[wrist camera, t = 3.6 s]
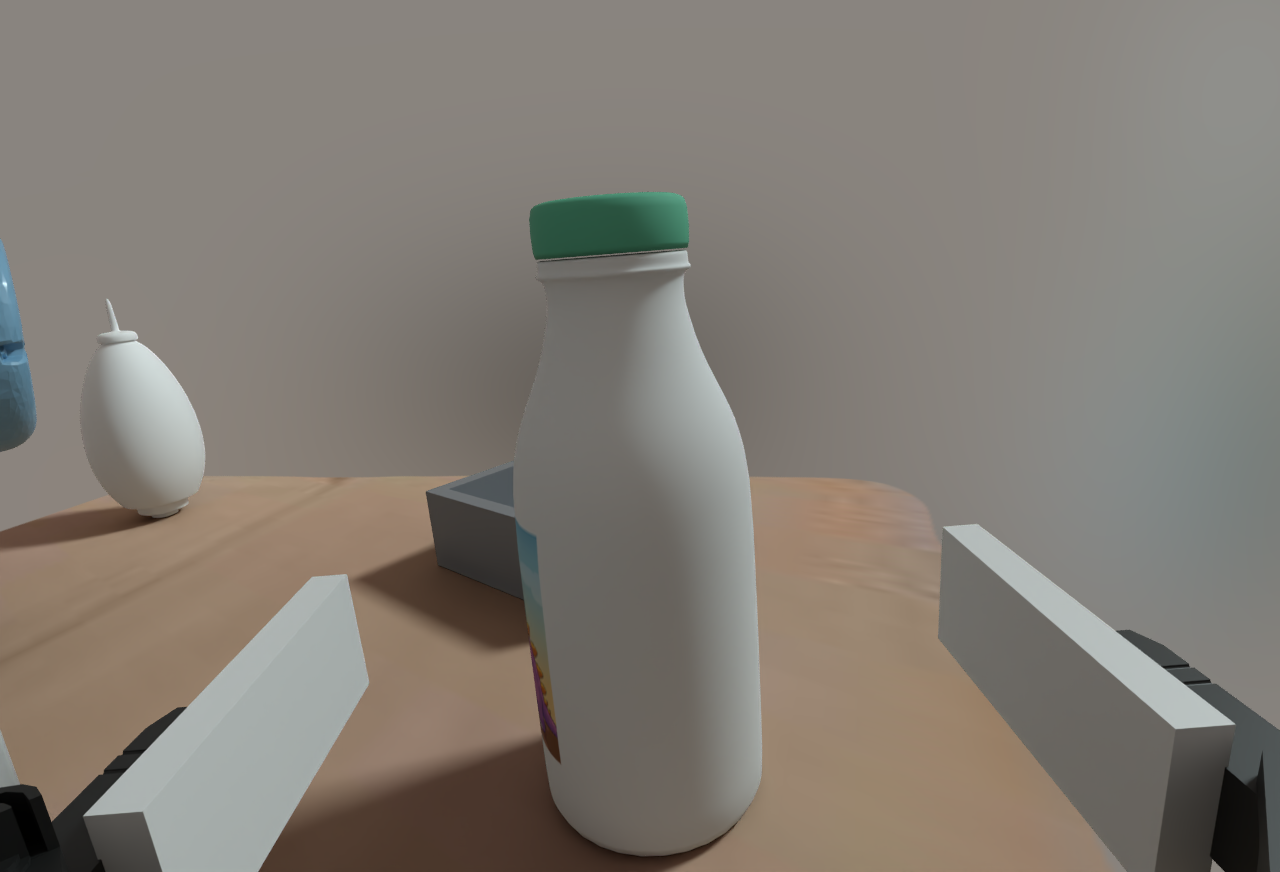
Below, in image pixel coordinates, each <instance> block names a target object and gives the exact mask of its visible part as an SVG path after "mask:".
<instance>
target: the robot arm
mask: <svg viewBox="0 0 1280 872" xmlns="http://www.w3.org/2000/svg"><path fill="white" fill-rule="evenodd" d="M24 345H25V343H24V338H23V333H22V325H21V319H20V314H19V309H18V305H17V299H16V295H15V290H14V286H13V281H12V277H11V273H10V268H9V264H8V260H7V256H6V252H5V249H4V245H3V243H2V241H1V239H0V452H2V451H6V450H9V449H13V448H15V447H17V446H19V445H21V444H23V443H24V442H25V441H26V440H27V439H28V438H29V437H30V436H31V435H32V433H33V432H34V430H35V427H36V420H37V419H36V406H35V398H34V391H33V386H32V379H31V373H30V368H29V363H28V358H27V354H26V352H25V348H24ZM938 638H939V640H940V641H941V642H942V643H943V645H944V646H945V647H946V648H947V650H948V651H949V652H950V653H951V655H952V656H953V657H954V658H955V659H956V661H957V662H958V663H959V664H960V666H961V667H962V668H963V669H964V671H965V672H966V673H967V674H968V676H969V677H970V678H971V679H972V681H973V682H974V683H975V684H976V685H977V687H978V688H979V689H980V690H981V692H982V693H983V694H984V695H985V697H986V698H987V699H988V700H989V702H990V703H991V704H992V705H993V706H994V708H995V709H996V710H997V711H998V713H999V714H1000V715H1001V716H1002V718H1003V719H1004V720H1005V721H1006V723H1007V724H1008V725H1009V726H1010V727H1011V729H1012V730H1013V731H1014V732H1015V734H1016V735H1017V736H1018V737H1019V739H1020V740H1021V741H1022V742H1023V744H1024V745H1025V746H1026V747H1027V749H1028V750H1029V751H1030V752H1031V753H1032V755H1033V756H1034V757H1035V758H1036V760H1037V761H1038V762H1039V763H1040V765H1041V766H1042V767H1043V768H1044V770H1045V771H1046V772H1047V773H1048V774H1049V776H1050V777H1051V778H1052V779H1053V781H1054V782H1055V783H1056V784H1057V786H1058V787H1059V788H1060V789H1061V791H1062V792H1063V793H1064V794H1065V795H1066V797H1067V798H1068V799H1069V800H1070V802H1071V803H1072V804H1073V805H1074V807H1075V808H1076V809H1077V810H1078V812H1079V813H1080V814H1081V815H1082V817H1083V818H1084V819H1085V820H1086V821H1087V823H1088V824H1089V825H1090V826H1091V828H1092V829H1093V830H1094V831H1095V833H1096V834H1097V835H1098V836H1099V838H1100V839H1101V840H1102V841H1103V842H1104V844H1105V845H1106V846H1107V847H1108V849H1109V850H1110V851H1111V852H1112V854H1113V855H1114V856H1115V857H1116V859H1117V860H1118V861H1119V862H1120V863H1121V865H1122V866H1123V867H1124V868H1125V869H1126V871H1127V872H1210V870H1211V864H1212V859H1213V860H1214V861H1215V862H1216V863H1217V864H1218V865H1219V866H1220V867H1221V868H1222V869H1223V870H1224V871H1225V872H1280V730H1278V729H1277V728H1276V727H1274V726H1273V725H1272V724H1270V723H1269V722H1267V721H1266V720H1265V719H1263V718H1262V717H1261V716H1259V715H1258V714H1257V713H1255V712H1254V711H1252V710H1251V709H1250V708H1248V707H1247V706H1246V705H1244V704H1243V703H1242V702H1240V701H1239V700H1237V699H1236V698H1235V697H1233V696H1232V695H1230V694H1229V693H1228V692H1227V691H1225V690H1224V689H1222V688H1221V687H1220V686H1218V685H1217V684H1212V683H1211V682H1210V679H1209V678H1207V677H1206V676H1204V675H1203V674H1202V673H1201V672H1199V671H1198V670H1197V669H1195V668H1190V667H1189V664H1188V663H1187V662H1186V661H1184V660H1183V659H1181V658H1180V657H1179V656H1177V655H1176V654H1175V653H1173V652H1172V651H1171V650H1169V649H1168V648H1166V647H1165V646H1164V645H1162V644H1159V643H1157V642H1155V641H1153V640H1151V639H1149V638H1146V637H1144V636H1142V635H1140V634H1137V633H1135V632H1133V631H1131V630H1121V631H1115V630H1113V629H1112V628H1111V627H1110V626H1108V625H1107V624H1106V623H1104V622H1103V621H1102V620H1101V619H1099V618H1098V617H1097V616H1095V615H1094V614H1093V613H1091V612H1090V611H1089V610H1087V609H1086V608H1085V607H1084V606H1082V605H1081V604H1080V603H1079V602H1077V601H1076V600H1075V599H1073V598H1072V597H1071V596H1069V595H1068V594H1067V593H1066V592H1064V591H1063V590H1062V589H1060V588H1059V587H1058V586H1057V585H1055V584H1054V583H1053V582H1052V581H1050V580H1049V579H1047V578H1046V577H1045V576H1044V575H1043V574H1041V573H1040V572H1039V571H1037V570H1036V569H1034V568H1033V567H1032V566H1031V565H1030V564H1028V563H1027V562H1026V561H1024V560H1023V559H1022V558H1020V557H1019V556H1018V555H1017V554H1015V553H1014V552H1013V551H1012V550H1010V549H1009V548H1008V547H1006V546H1005V545H1004V544H1002V543H1001V542H1000V541H999V540H997V539H996V538H995V537H994V536H992V535H991V534H990V533H988V532H987V531H986V530H984V529H983V528H982V527H981V526H979V525H978V524H972V525H960V526H947V527H943V533H942V557H941V581H940V606H939V630H938ZM368 685H369V680H368V675H367V670H366V665H365V660H364V655H363V650H362V646H361V641H360V636H359V631H358V626H357V621H356V616H355V611H354V607H353V602H352V597H351V592H350V587H349V582H348V577H347V574H343V575H331V576H318V577H312V578H311V579H310V580H309V581H308V582H307V583H306V584H305V585H304V586H303V587H302V588H301V589H300V590H299V591H298V592H297V593H296V594H295V595H294V596H293V597H292V598H291V600H290V601H289V602H288V603H287V604H286V605H285V606H284V607H283V608H282V609H281V610H280V611H279V612H278V613H277V614H276V615H275V616H274V617H273V618H272V619H271V620H270V621H269V622H268V624H267V625H266V626H265V627H264V628H263V629H262V630H261V631H260V632H259V633H258V634H257V635H256V636H255V637H254V638H253V639H252V640H251V641H250V642H249V643H248V644H247V645H246V646H245V648H244V649H243V650H242V651H241V652H240V653H239V654H238V655H237V656H236V657H235V658H234V659H233V660H232V661H231V662H230V663H229V664H228V665H227V666H226V667H225V668H224V669H223V670H222V672H221V673H220V674H219V675H218V676H217V677H216V678H215V679H214V680H213V681H212V682H211V683H210V684H209V685H208V686H207V687H206V688H205V689H204V690H203V691H202V692H201V693H200V694H199V696H198V697H197V698H196V699H195V700H194V701H193V702H192V703H191V704H190V705H189V706H188V707H180V708H176V709H174V710H173V711H171V712H170V713H168V714H167V715H165V716H164V717H162V718H161V719H159V720H158V721H156V722H155V723H153V724H152V725H150V726H149V727H147V728H146V729H145V730H144V731H143V732H142V733H141V734H140V735H139V736H138V737H137V738H136V739H135V740H134V741H133V742H132V743H131V744H130V745H129V746H128V747H127V748H126V749H125V750H124V751H123V755H120V756H117V757H116V758H115V759H114V760H113V761H112V762H111V763H110V764H109V765H108V766H107V767H106V768H105V769H104V774H103V775H98V776H97V777H96V778H95V779H94V780H93V781H92V782H91V783H90V784H89V785H88V786H87V787H86V788H85V789H84V790H83V791H82V792H81V793H80V794H79V795H78V796H77V797H76V798H75V799H74V800H73V801H72V802H71V803H70V804H69V805H68V806H67V807H66V808H65V809H64V810H63V811H62V812H61V813H60V814H59V815H58V816H57V817H56V818H55V819H54V820H53V821H52V822H51V820H50V817H49V814H48V811H47V809H46V806H45V803H44V801H43V798H42V795H41V793H40V792H39V790H38V789H37V787H34V786H29V785H23V784H21V785H14V786H7V787H1V788H0V872H258V871H259V869H260V868H261V866H262V864H263V863H264V861H265V859H266V857H267V856H268V854H269V852H270V851H271V849H272V847H273V846H274V844H275V842H276V841H277V839H278V837H279V835H280V834H281V832H282V830H283V829H284V827H285V825H286V824H287V822H288V820H289V818H290V817H291V815H292V813H293V812H294V810H295V808H296V807H297V805H298V803H299V802H300V800H301V798H302V796H303V795H304V793H305V791H306V790H307V788H308V786H309V785H310V783H311V781H312V780H313V778H314V776H315V774H316V773H317V771H318V769H319V768H320V766H321V764H322V763H323V761H324V759H325V758H326V756H327V754H328V752H329V751H330V749H331V747H332V746H333V744H334V742H335V741H336V739H337V737H338V736H339V734H340V732H341V730H342V729H343V727H344V725H345V724H346V722H347V720H348V719H349V717H350V715H351V713H352V712H353V710H354V708H355V707H356V705H357V703H358V702H359V700H360V698H361V697H362V695H363V693H364V691H365V690H366V688H367V686H368Z"/></svg>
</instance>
